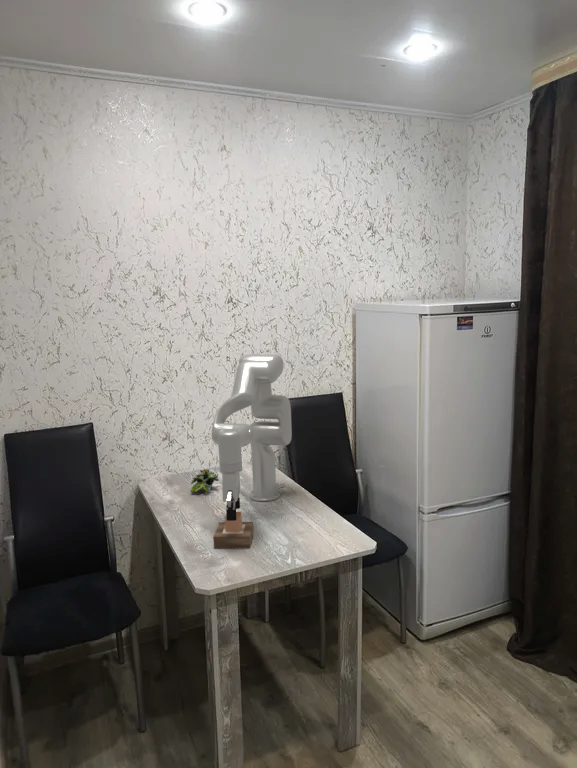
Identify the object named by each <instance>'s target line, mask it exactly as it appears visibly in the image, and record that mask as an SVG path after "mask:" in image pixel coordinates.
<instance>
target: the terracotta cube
mask: <svg viewBox="0 0 577 768" xmlns="http://www.w3.org/2000/svg"><path fill="white" fill-rule="evenodd" d="M242 515H243V514H242V511H236V521H227V516H226V515H225V517H224V522H225V530H226V532H240V531H241V528H242V522H243V516H242Z"/></svg>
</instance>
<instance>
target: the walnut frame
mask: <svg viewBox="0 0 577 768" xmlns="http://www.w3.org/2000/svg"><path fill="white" fill-rule="evenodd" d="M253 533H255V531H254V522H253V521H242V528H241V531H240V532H226V530H225V521H221V522H219V523H218V525H217V528H216V530H215V532H214V534H213V537H212V538H213V549H250V548H251V547H252V546H251V545H252V541H253V538H254V534H253Z"/></svg>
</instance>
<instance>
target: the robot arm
mask: <svg viewBox="0 0 577 768" xmlns="http://www.w3.org/2000/svg"><path fill="white" fill-rule="evenodd" d="M284 364H285V363H284V360H283V358H282V356H281V355H279V354H245V355H242V356H240V358H239V360H238V365H237V368H236V372H235V378H234V381H233V382H234V383H233V388H232V392H231V396H230V397H229V398H228V399H226V400H225V401H224V402H223V403H222V404H221V406H220V407H218V409H217V411H216V412H215V415H214V419H213V422H212V426H211V440H212V442H213V443H214V444H216V445H218V460H219V461H218V462H219V472H220V473H222V478H221V483H222V484H221V485H222V486H221V487H222V488H221V493H222V502H223V503H226V508H225V513H226V514H225V516H227V521H236V512H237V509H238V510H239V509H241V497H240V494H241V477H240V476H241V475H240V472H242V471H243V457H242V456H243V455H242V448H243V447H246V446H248V445H249V444H250V450H251V466H252V469H251V470H252V471H251V472H252V487H253V488H252V491H250V493H249V498H250V499H251V500H252V501H255V502H272V501H275V500H277V499H279V498H280V497H281V492H280V490H281V489H284V488H286V487H287V486H286V483H285V482H283V483H280V482H277V475H276V471H277V470H276V455H275V451H274V449H273V447H271V446H287V445H289V444H290V443H291V441H292V435H293V434H292V431H293V430H292V407H291V402H290V399H289V398H288V397H287V396H285V395H283V394H282V395H278V394H274V395H273V393H272V384H274V383H275V382H276V381H277V380H278V379H279V378H280V377H281V375H282V374H283V372H284ZM248 407H250V410H251V414H252V415H251V416H252V417H253V418H255V419H264V420H262V421H261V420H260V421H259V420H258V421H254V422H253V423H251V424H247V423H231V422H230V423H229V422H226V420H227V419H228V418H229V417H230V416H231V415H233V414H234V413H237V412H238V411H239V412H240V411H241V410H244V409H246V408H248ZM265 420H266V421H265ZM268 420H277V421H268Z"/></svg>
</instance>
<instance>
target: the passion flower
mask: <svg viewBox="0 0 577 768" xmlns="http://www.w3.org/2000/svg"><path fill="white" fill-rule="evenodd" d="M199 471H200V472H198V473H197V474H195V477H192V480H191V482H190V485H192V487H191V489H190V493H191V494H193V493H196V492H198V491H200V490H201V489H202V488H203V490H204V491H205V492H207V495H209V494H210V490H211V488H212V486H213V484H214V483H215V482H218V481H219V480H220V479H219V475H218V474H216V473H215V472H214V471H210V469H208V468H207V469H205V468H204V469H201V470H199ZM194 483H195V484H194Z"/></svg>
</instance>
